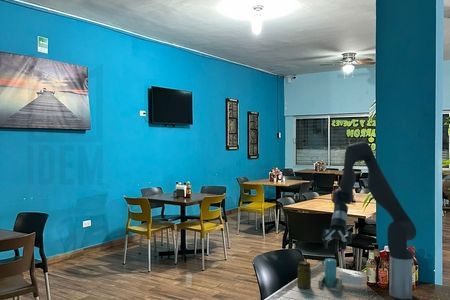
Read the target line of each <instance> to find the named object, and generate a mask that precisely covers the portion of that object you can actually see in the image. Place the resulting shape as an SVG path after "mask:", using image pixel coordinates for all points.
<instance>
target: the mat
mask: <svg viewBox="0 0 450 300" xmlns="http://www.w3.org/2000/svg"><path fill="white" fill-rule="evenodd" d="M338 277H340V278H342V283H343V284H344V283H346V284H353V285H358V286H359V285H360V286H361V284H362V282H363V280H364V279H363V278H364V277H362V276H361V277H360V276H354V275H347V274H339V276H338Z"/></svg>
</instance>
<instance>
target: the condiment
mask: <svg viewBox="0 0 450 300" xmlns="http://www.w3.org/2000/svg"><path fill="white" fill-rule="evenodd" d="M311 276H312V270H311V263H310V262H309V261H305V260H304V261H302V260H301V261H299V262H298V267H297V288H298V289H300V290H310V289H311V288H312V283H311V282H312V281H311V280H312V277H311Z"/></svg>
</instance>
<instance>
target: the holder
mask: <svg viewBox="0 0 450 300" xmlns="http://www.w3.org/2000/svg"><path fill="white" fill-rule="evenodd" d="M343 286H344V283H343V282H342V278H340V277H339V276H336V287H334V288H329V287H326V286H325V274H322V275H321V277H320V278H319V280H318V286H317V288H319V289H324V290H331V291H335V292H336V291H337V292H341V290H342V287H343Z"/></svg>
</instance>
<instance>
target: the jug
mask: <svg viewBox="0 0 450 300" xmlns="http://www.w3.org/2000/svg"><path fill="white" fill-rule="evenodd" d="M324 275H325V286H326V287H329V288H334V287H336V277H337V259H334V258H325V259H324Z"/></svg>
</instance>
